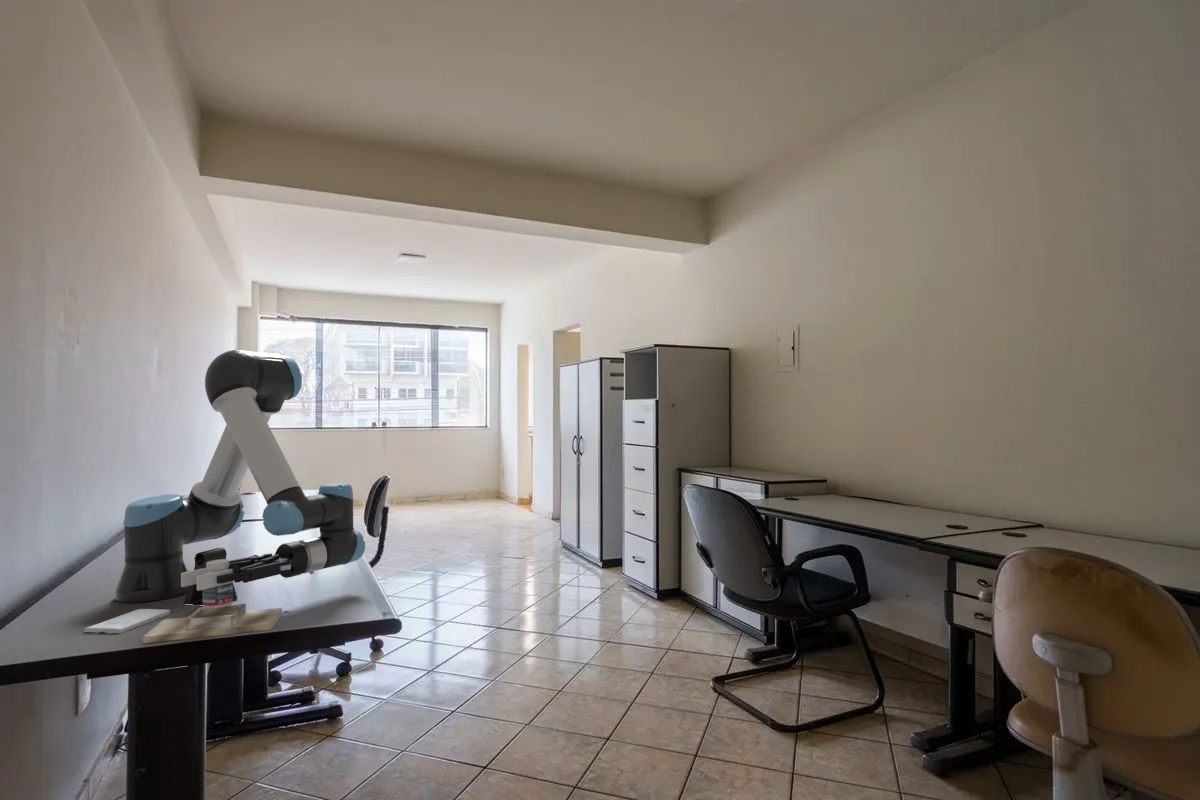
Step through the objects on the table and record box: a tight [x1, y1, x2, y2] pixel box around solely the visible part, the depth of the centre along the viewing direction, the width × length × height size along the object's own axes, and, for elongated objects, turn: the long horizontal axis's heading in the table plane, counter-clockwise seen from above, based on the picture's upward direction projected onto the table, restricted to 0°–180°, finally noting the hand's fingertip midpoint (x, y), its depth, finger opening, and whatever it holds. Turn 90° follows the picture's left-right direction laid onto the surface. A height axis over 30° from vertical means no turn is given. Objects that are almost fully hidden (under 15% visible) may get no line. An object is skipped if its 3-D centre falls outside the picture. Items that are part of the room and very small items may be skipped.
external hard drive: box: [83, 608, 171, 634], centre depth 133 cm, size 2×8×12 cm
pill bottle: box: [202, 558, 234, 609], centre depth 129 cm, size 5×5×9 cm
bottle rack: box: [142, 603, 283, 644], centre depth 129 cm, size 22×11×3 cm, turn 107°
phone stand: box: [183, 547, 238, 605], centre depth 147 cm, size 9×6×12 cm, turn 76°
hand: (189, 581), depth 125 cm, fingers closed on pill bottle, 5 cm apart
